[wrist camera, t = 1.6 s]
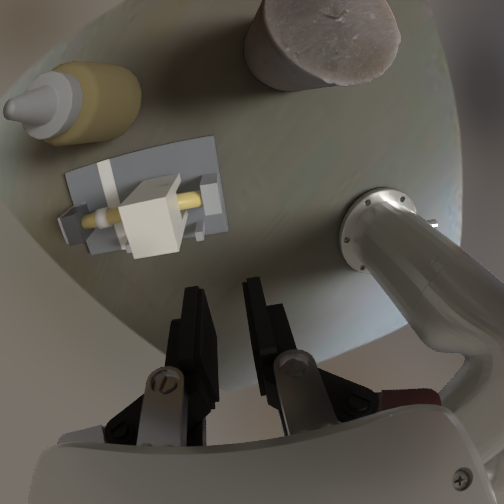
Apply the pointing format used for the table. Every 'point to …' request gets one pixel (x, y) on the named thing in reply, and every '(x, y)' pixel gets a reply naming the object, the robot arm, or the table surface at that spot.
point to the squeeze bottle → (78, 104)
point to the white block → (154, 217)
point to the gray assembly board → (129, 178)
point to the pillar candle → (320, 43)
